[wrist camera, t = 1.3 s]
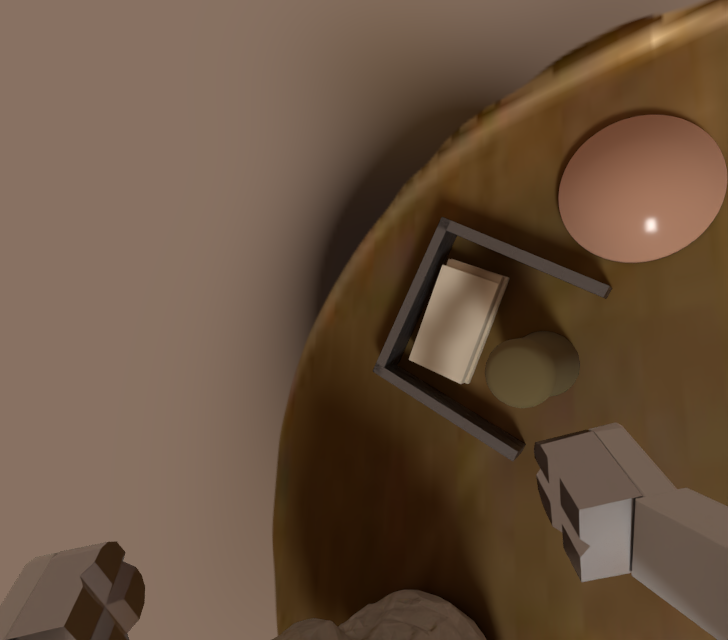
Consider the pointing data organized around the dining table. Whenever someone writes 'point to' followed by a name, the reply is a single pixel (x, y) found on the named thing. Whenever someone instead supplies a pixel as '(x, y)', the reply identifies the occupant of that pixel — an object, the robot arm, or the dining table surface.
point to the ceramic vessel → (393, 621)
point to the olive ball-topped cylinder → (532, 368)
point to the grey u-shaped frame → (414, 308)
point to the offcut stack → (458, 320)
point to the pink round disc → (642, 188)
